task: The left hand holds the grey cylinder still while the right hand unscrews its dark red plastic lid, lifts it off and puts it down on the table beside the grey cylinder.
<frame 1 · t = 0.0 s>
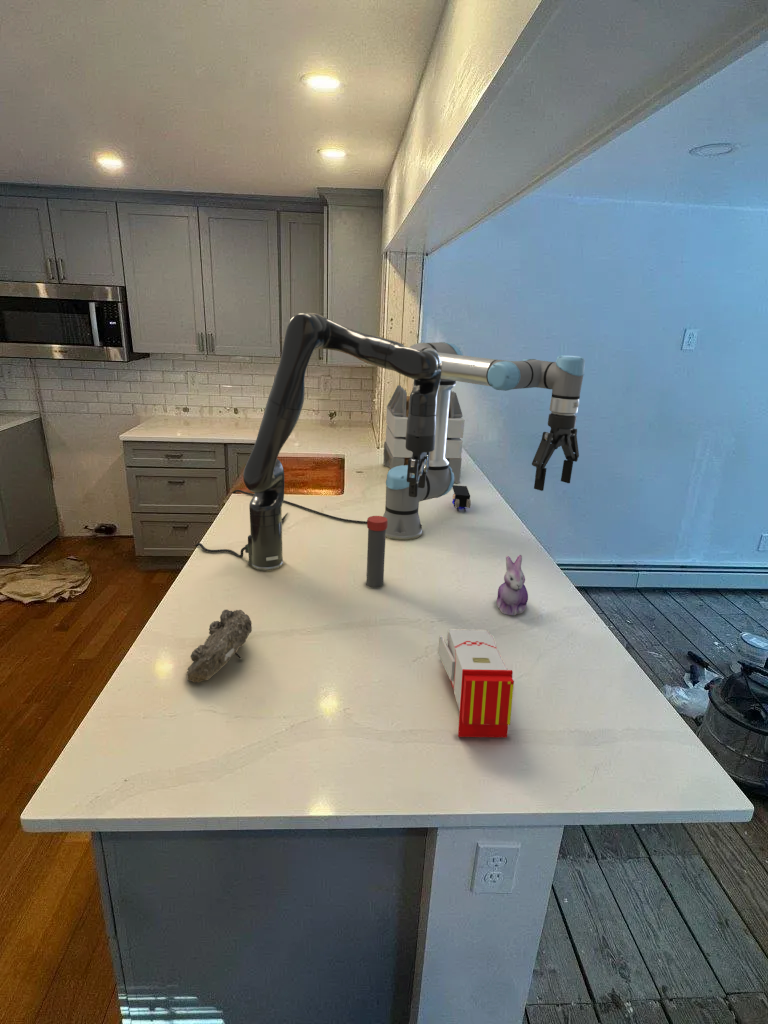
left hand: (417, 491, 150), 29 cm above the counter, tool pointing down, fingers open, 8 cm apart
right hand: (552, 485, 166), 28 cm above the counter, tool pointing down, fingers open, 13 cm apart
grey cylinder: (374, 584, 163), on the counter
feather: (286, 516, 211), on the counter
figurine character: (460, 507, 229), on the counter
figurine: (511, 608, 153), on the counter
grey storage crate: (419, 473, 275), on the counter
fossil: (224, 657, 126), on the counter
lid: (377, 520, 156), point 20 cm above the counter, screwed on, not yet turned
toy: (469, 691, 119), on the counter
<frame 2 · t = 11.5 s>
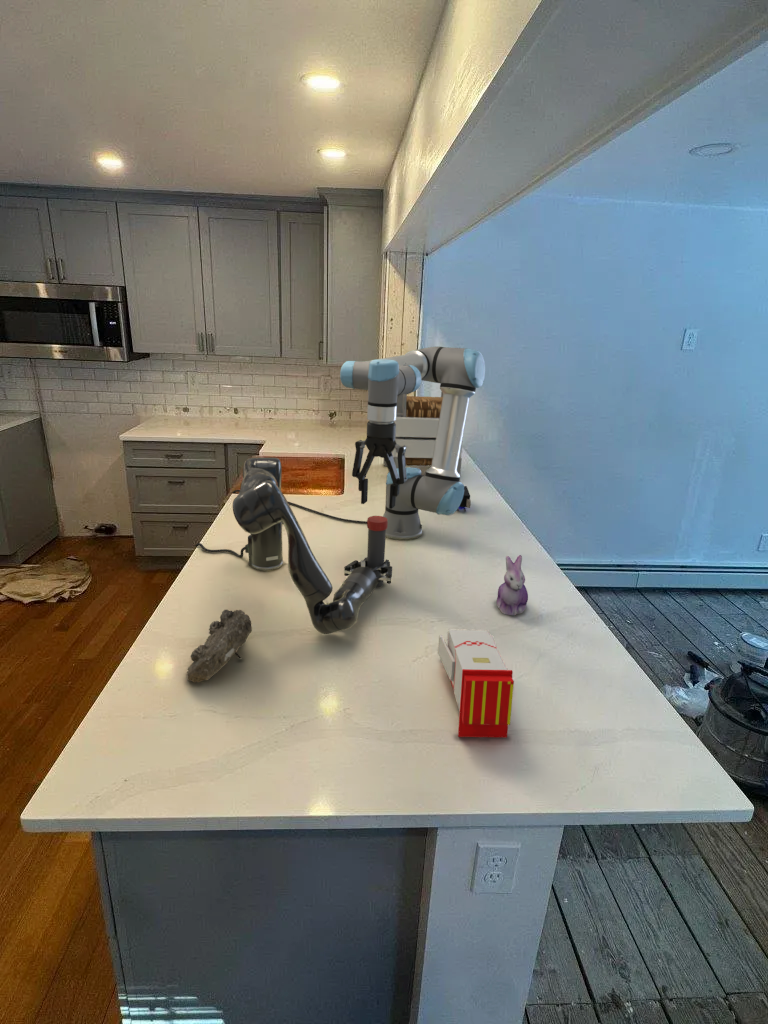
left hand: (378, 561, 163), 6 cm above the counter, tool horizontal, fingers closed on grey cylinder, 5 cm apart
right hand: (378, 504, 155), 24 cm above the counter, tool pointing down, fingers open, 7 cm apart
grey cylinder: (374, 584, 163), on the counter, touching left hand
everything else where it was.
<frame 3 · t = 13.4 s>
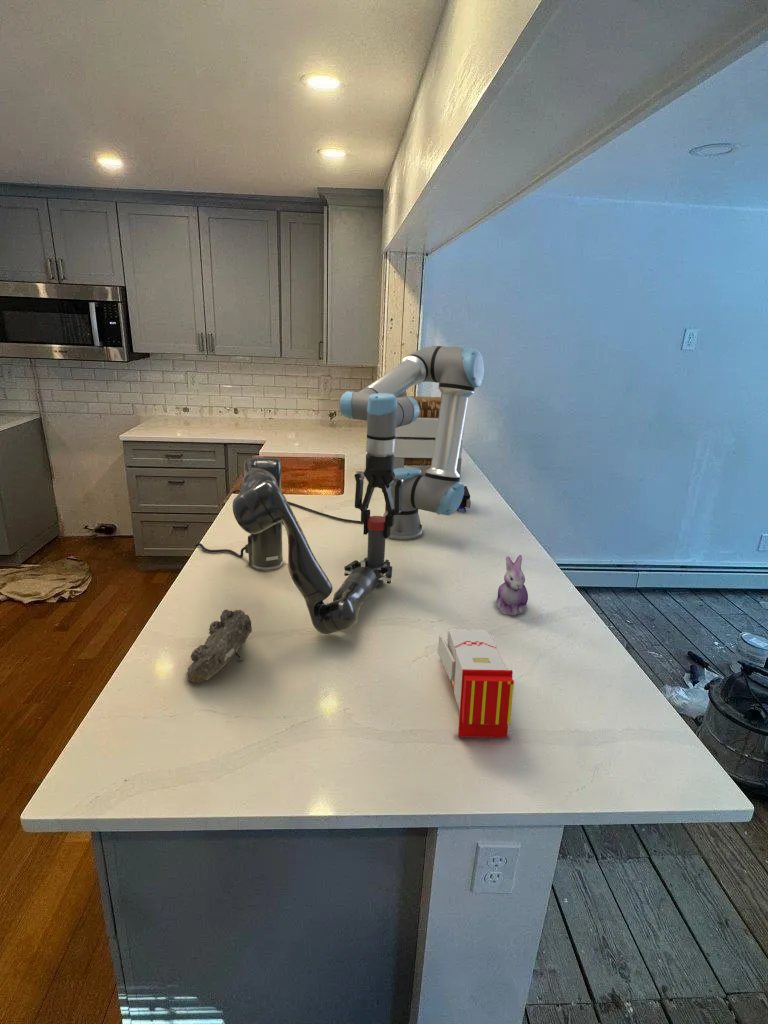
left hand: (378, 561, 163), 6 cm above the counter, tool horizontal, fingers closed on grey cylinder, 5 cm apart
right hand: (376, 534, 158), 15 cm above the counter, tool pointing down, fingers closed on lid, 5 cm apart
grey cylinder: (374, 584, 163), on the counter, touching left hand
lid: (377, 520, 156), point 20 cm above the counter, screwed on, not yet turned, touching right hand
everything else where it was.
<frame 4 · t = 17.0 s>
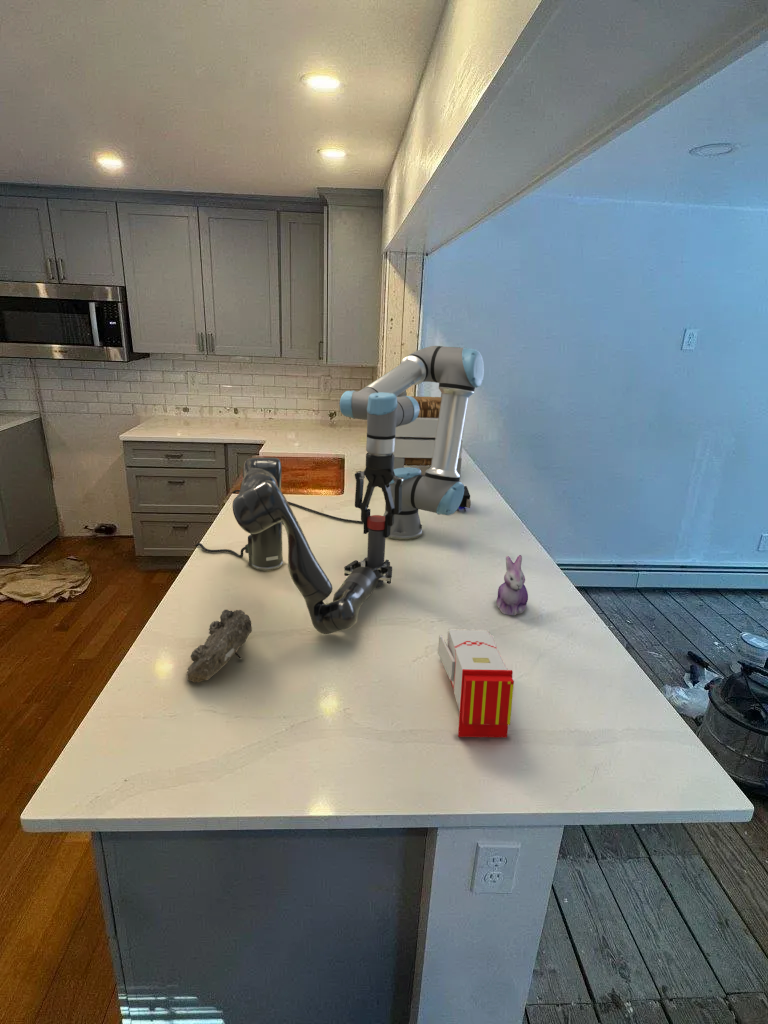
left hand: (378, 561, 163), 6 cm above the counter, tool horizontal, fingers closed on grey cylinder, 5 cm apart
right hand: (376, 534, 157), 16 cm above the counter, tool pointing down, fingers closed on lid, 5 cm apart
grey cylinder: (374, 584, 163), on the counter, touching left hand
lid: (377, 519, 156), point 20 cm above the counter, turned 140° so far, risen 0.2 cm, still on its thread, touching right hand
everything else where it was.
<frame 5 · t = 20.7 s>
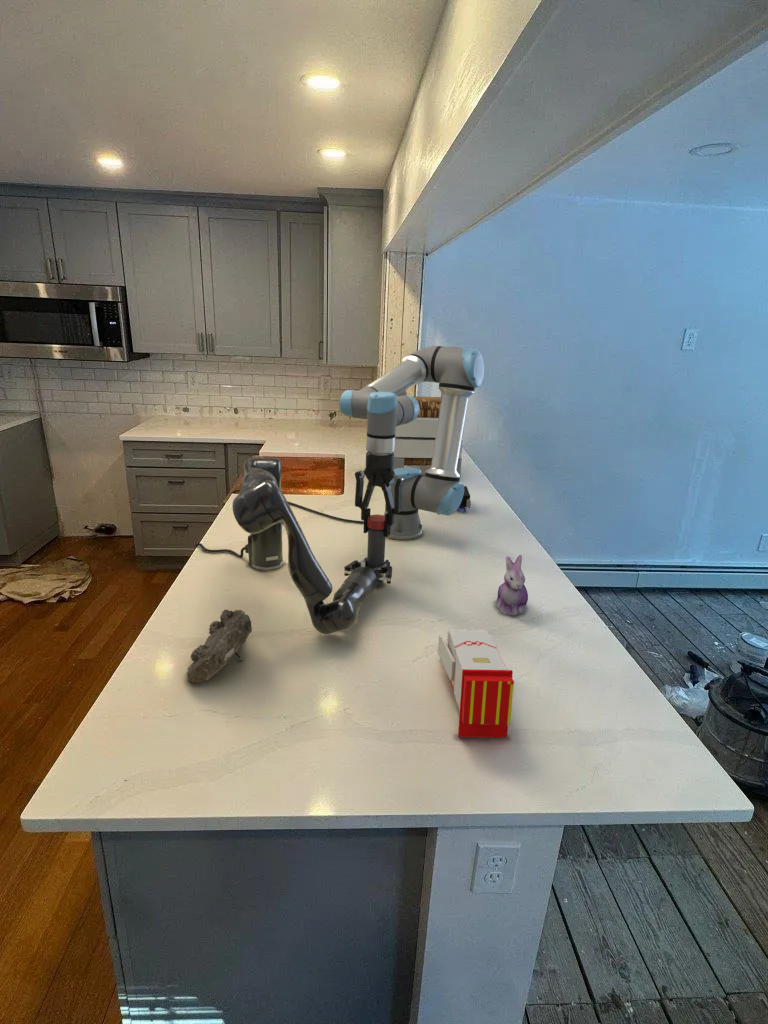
left hand: (378, 561, 163), 6 cm above the counter, tool horizontal, fingers closed on grey cylinder, 5 cm apart
right hand: (376, 533, 157), 16 cm above the counter, tool pointing down, fingers closed on lid, 5 cm apart
grey cylinder: (374, 584, 163), on the counter, touching left hand
lid: (377, 519, 156), point 20 cm above the counter, turned 281° so far, risen 0.4 cm, still on its thread, touching right hand
everything else where it was.
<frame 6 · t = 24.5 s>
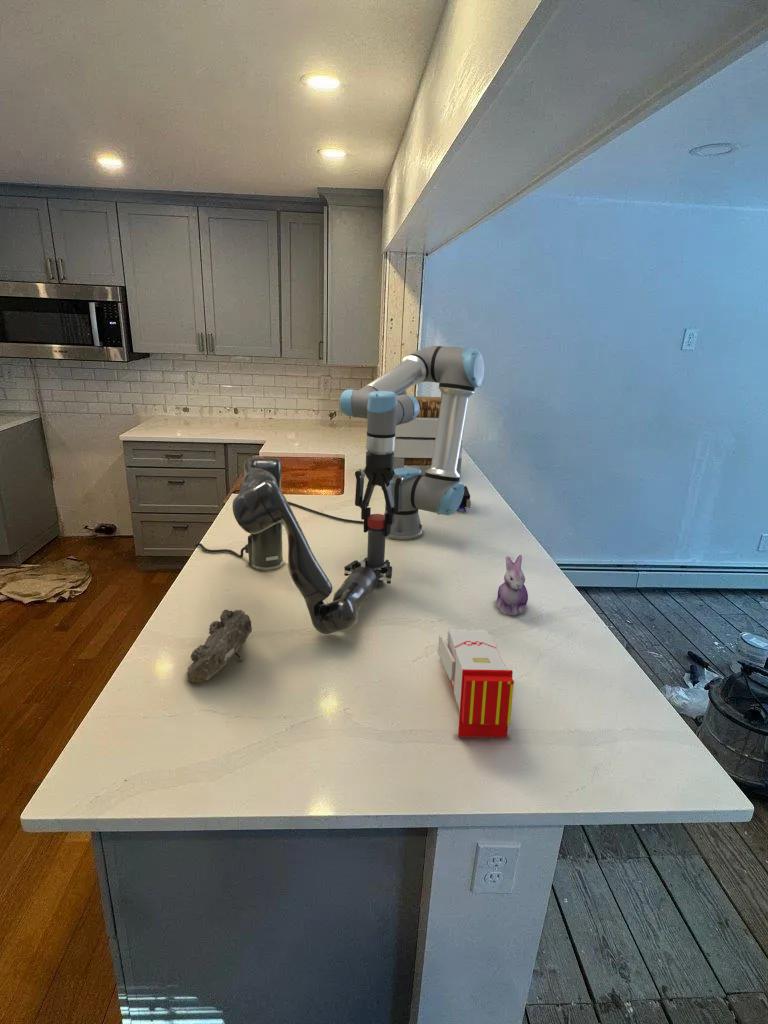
left hand: (378, 561, 163), 6 cm above the counter, tool horizontal, fingers closed on grey cylinder, 5 cm apart
right hand: (376, 532, 157), 16 cm above the counter, tool pointing down, fingers closed on lid, 5 cm apart
grey cylinder: (374, 584, 163), on the counter, touching left hand
lid: (377, 518, 156), point 20 cm above the counter, turned 421° so far, risen 0.6 cm, still on its thread, touching right hand
everything else where it was.
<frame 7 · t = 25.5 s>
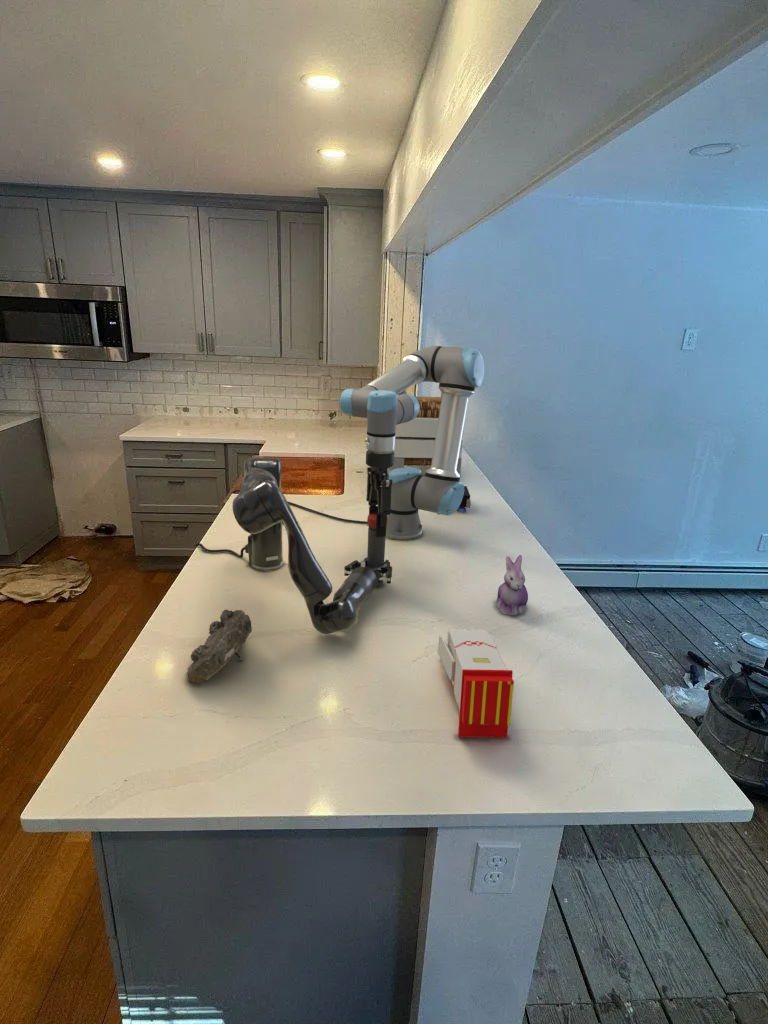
left hand: (378, 561, 163), 6 cm above the counter, tool horizontal, fingers closed on grey cylinder, 5 cm apart
right hand: (376, 532, 157), 16 cm above the counter, tool pointing down, fingers closed on lid, 5 cm apart
grey cylinder: (374, 584, 163), on the counter, touching left hand
lid: (377, 517, 156), point 20 cm above the counter, off its thread, touching right hand
everything else where it was.
when the right hand's fingers open (0 cm above the counter, at t = 32.3 s): lid stays where it is, point 2 cm above the counter.
when the left hand's fingers open (6 cm above the counter, at t = 32.9 s): grey cylinder stays where it is, on the counter.
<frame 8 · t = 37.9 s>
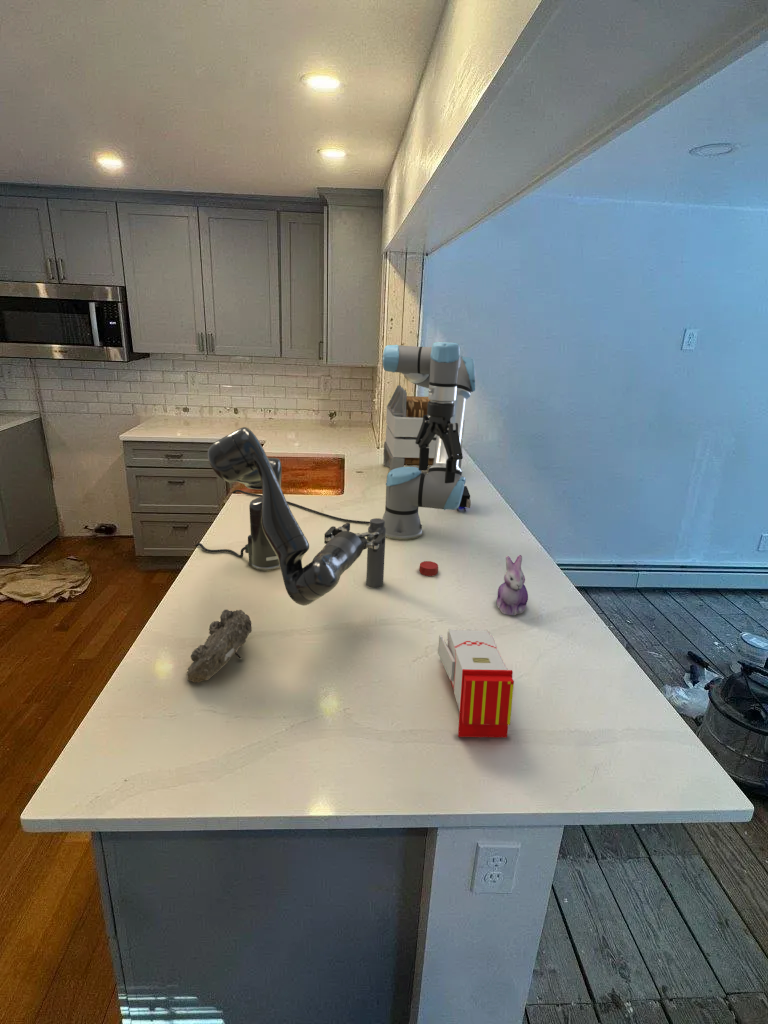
left hand: (364, 528, 146), 21 cm above the counter, tool horizontal, fingers open, 8 cm apart
right hand: (435, 476, 162), 30 cm above the counter, tool pointing down, fingers open, 13 cm apart
grey cylinder: (374, 584, 163), on the counter
lid: (428, 566, 171), point 2 cm above the counter, off its thread
everything else where it was.
at the end: lid came off its thread; lid point 2.1 cm above the counter; the left hand is holding nothing; the right hand is holding nothing; grey cylinder tilted 0°; grey cylinder moved 0.1 cm from its start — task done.
